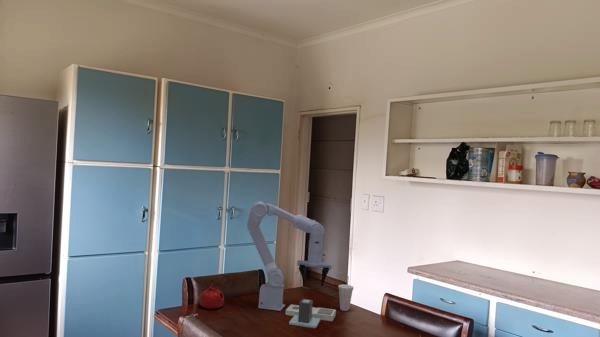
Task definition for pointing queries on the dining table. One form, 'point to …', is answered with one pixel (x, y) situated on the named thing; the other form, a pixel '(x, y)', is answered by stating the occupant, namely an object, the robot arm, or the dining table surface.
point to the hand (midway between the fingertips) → (313, 284)
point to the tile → (312, 323)
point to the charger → (305, 310)
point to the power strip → (313, 312)
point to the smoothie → (345, 296)
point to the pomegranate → (211, 298)
